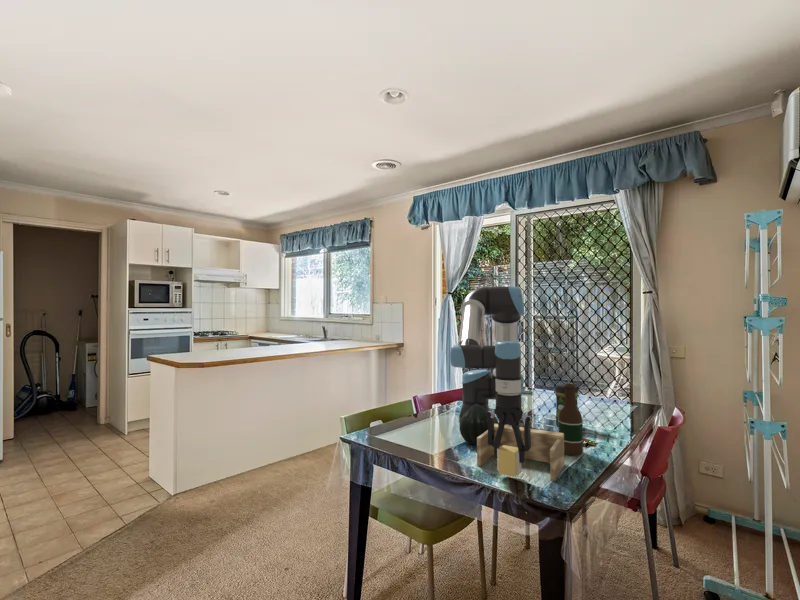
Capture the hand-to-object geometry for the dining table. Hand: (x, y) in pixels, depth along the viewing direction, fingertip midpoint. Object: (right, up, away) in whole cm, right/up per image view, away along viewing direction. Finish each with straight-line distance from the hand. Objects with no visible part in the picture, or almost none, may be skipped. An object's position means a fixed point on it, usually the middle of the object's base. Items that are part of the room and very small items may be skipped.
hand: (509, 471), depth 124 cm
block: (0, 0, 0) cm, 0 cm away
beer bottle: (+28, -3, +23) cm, 36 cm away
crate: (+7, -3, +11) cm, 13 cm away
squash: (-3, -4, +34) cm, 34 cm away
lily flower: (+37, -4, +34) cm, 50 cm away
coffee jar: (+40, -4, +56) cm, 69 cm away
